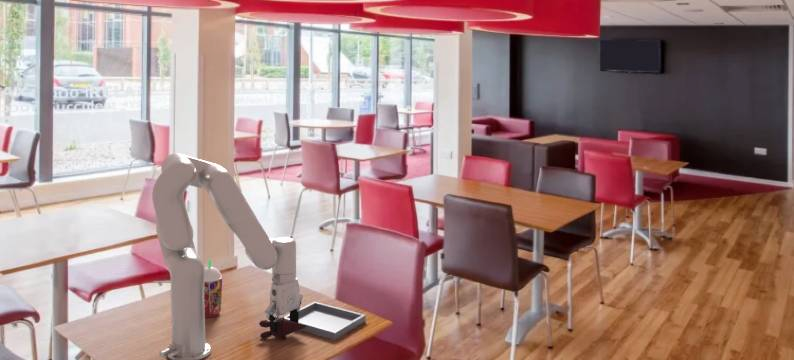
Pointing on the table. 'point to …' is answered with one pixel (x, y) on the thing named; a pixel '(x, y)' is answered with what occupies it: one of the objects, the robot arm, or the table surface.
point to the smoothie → (212, 291)
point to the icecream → (281, 328)
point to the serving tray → (328, 320)
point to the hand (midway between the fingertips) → (284, 327)
